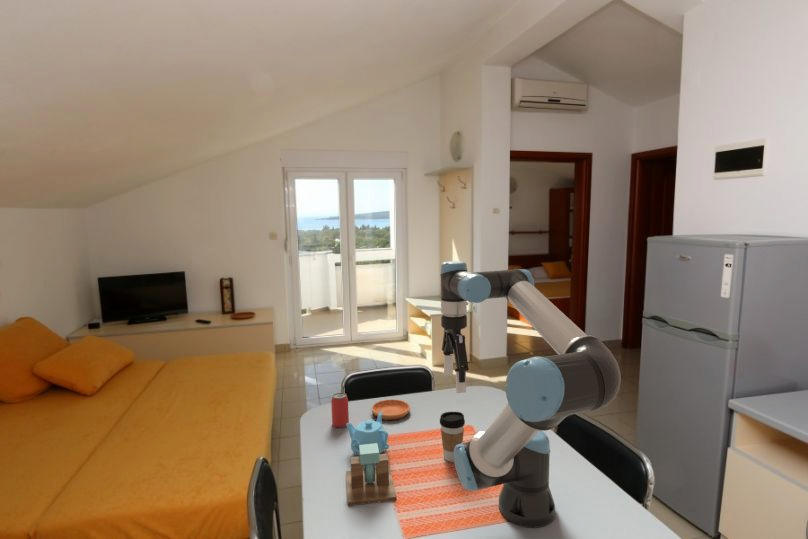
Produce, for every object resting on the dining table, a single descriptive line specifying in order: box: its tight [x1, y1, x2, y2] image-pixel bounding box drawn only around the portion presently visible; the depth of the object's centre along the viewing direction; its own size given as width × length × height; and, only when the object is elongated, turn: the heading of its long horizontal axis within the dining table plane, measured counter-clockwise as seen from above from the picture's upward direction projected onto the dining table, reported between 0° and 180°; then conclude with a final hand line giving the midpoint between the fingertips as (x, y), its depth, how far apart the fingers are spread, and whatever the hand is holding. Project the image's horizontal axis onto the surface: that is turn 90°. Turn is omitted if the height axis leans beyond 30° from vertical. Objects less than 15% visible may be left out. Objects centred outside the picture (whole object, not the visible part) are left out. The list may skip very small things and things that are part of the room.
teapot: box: [346, 412, 390, 457], centre depth 156 cm, size 15×14×11 cm
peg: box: [359, 443, 379, 483], centre depth 136 cm, size 6×6×10 cm
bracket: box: [345, 453, 398, 506], centre depth 136 cm, size 16×14×9 cm
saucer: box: [371, 399, 411, 421], centre depth 187 cm, size 16×16×3 cm
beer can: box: [330, 392, 350, 428], centre depth 177 cm, size 7×7×12 cm
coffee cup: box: [439, 411, 466, 463], centre depth 151 cm, size 8×8×15 cm
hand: (454, 383), depth 134 cm, fingers open, 13 cm apart
